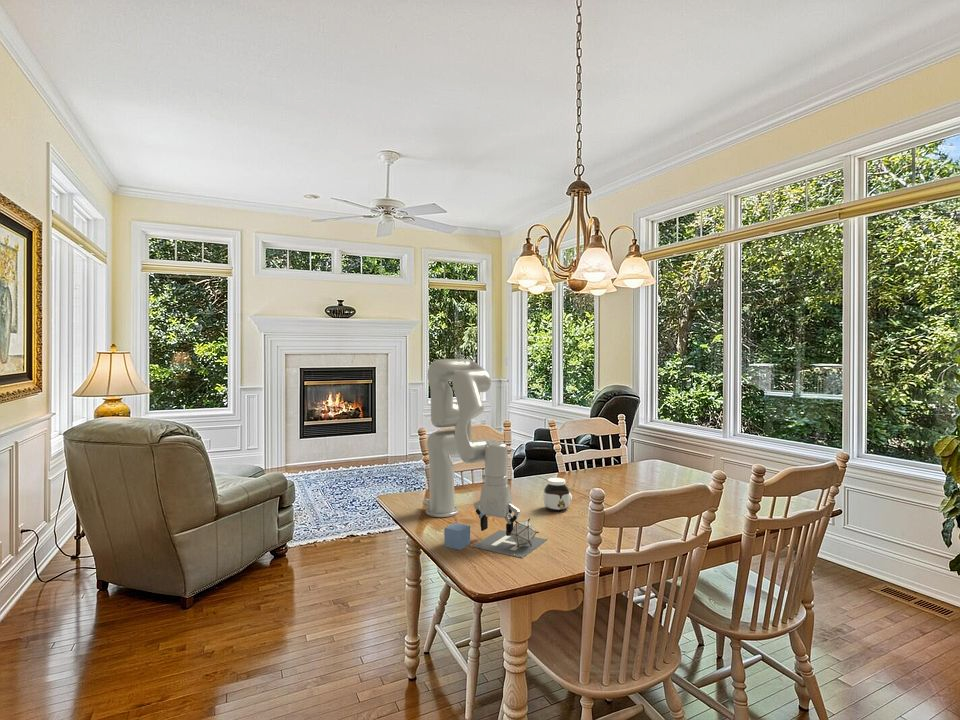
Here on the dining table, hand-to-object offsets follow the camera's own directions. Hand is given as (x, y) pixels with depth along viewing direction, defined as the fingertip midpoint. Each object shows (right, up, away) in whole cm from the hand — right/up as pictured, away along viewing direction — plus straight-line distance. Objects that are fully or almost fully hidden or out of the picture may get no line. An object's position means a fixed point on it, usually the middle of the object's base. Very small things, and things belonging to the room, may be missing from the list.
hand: (496, 532), depth 174 cm
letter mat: (+4, -3, -2) cm, 6 cm away
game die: (+8, -3, -5) cm, 10 cm away
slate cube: (-13, -3, -3) cm, 14 cm away
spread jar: (+26, -2, +36) cm, 45 cm away
